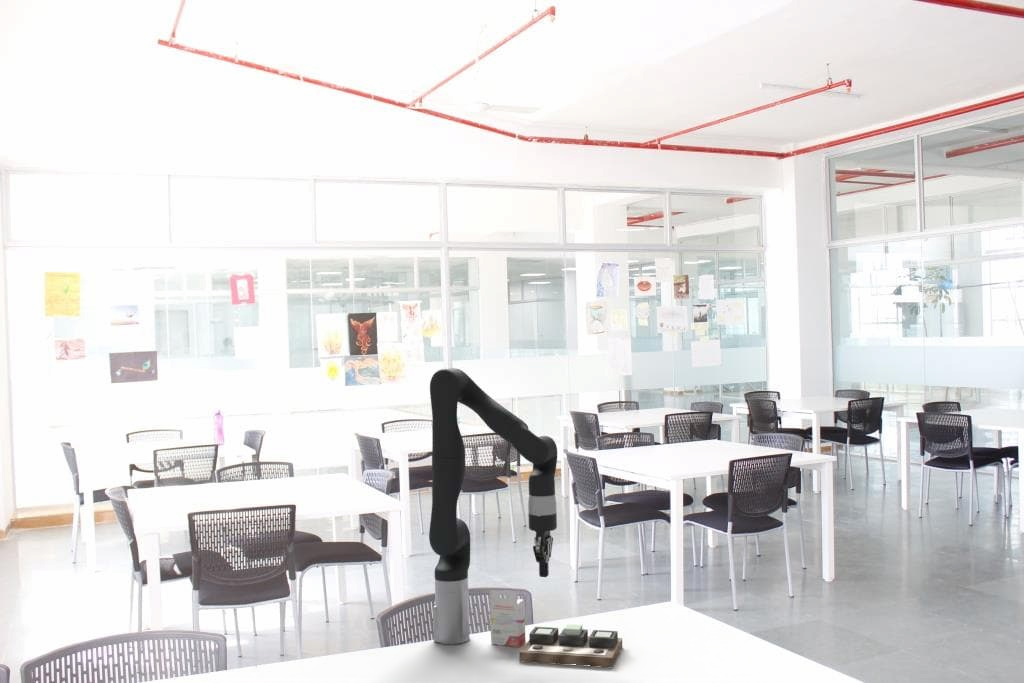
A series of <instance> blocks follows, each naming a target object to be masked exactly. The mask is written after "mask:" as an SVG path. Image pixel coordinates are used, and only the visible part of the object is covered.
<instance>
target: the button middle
mask: <svg viewBox="0 0 1024 683" xmlns="http://www.w3.org/2000/svg"><path fill="white" fill-rule="evenodd" d="M563 629H564V635H575V636H581V634H582V629H583V624H571V623H570V624H569V623H568V624H566V626H565V627H564V628H563Z"/></svg>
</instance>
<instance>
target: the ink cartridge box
mask: <svg viewBox="0 0 1024 683" xmlns="http://www.w3.org/2000/svg"><path fill="white" fill-rule="evenodd" d="M489 595H490V597H489V598H490V599H489V600H490V601H489V610H490V611H489V612H490V613H489V615H490V617H489V618H490V643H491V645H493V644H497V645H496V646H504V645H508V646H507V647H514V646H517V647H519V648H520V647H521V646H522V645H523V644H526V643H527V642H526V640H527V639H526V621H525V620H526V618H525V616H526V615H525V600H524V599H520V598H519V599H518V591H517V592H516V591H508V590H507V591H505V590H490V594H489ZM503 595H504V596H506V597H500V596H503ZM517 647H516V648H517Z"/></svg>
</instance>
